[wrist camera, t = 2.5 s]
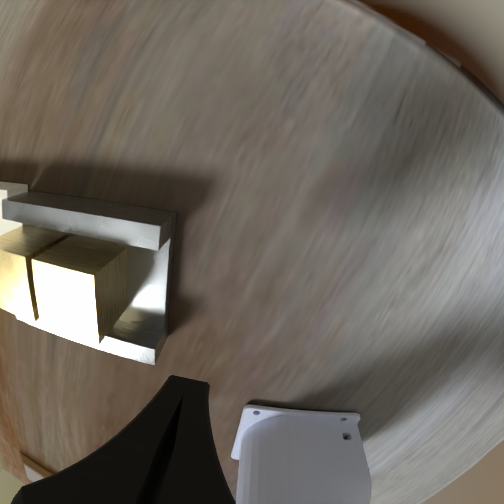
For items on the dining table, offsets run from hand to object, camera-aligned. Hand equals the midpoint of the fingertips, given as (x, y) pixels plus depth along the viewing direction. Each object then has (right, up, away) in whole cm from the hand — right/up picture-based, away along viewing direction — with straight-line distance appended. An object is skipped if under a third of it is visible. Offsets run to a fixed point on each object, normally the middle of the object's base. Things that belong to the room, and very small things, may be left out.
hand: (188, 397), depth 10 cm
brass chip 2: (-7, +4, +7) cm, 11 cm away
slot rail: (-8, +4, +8) cm, 12 cm away
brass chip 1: (-11, +5, +7) cm, 14 cm away
